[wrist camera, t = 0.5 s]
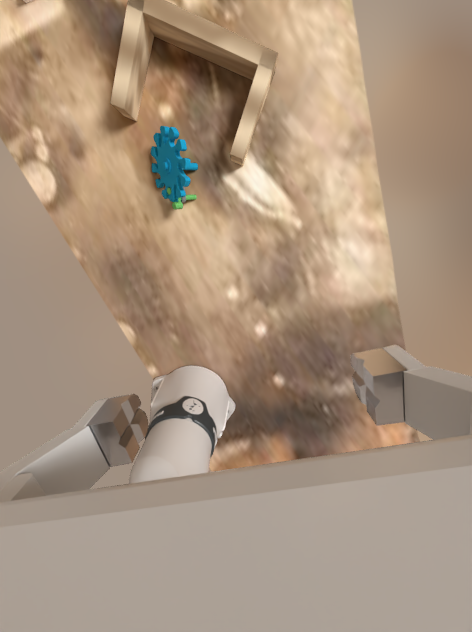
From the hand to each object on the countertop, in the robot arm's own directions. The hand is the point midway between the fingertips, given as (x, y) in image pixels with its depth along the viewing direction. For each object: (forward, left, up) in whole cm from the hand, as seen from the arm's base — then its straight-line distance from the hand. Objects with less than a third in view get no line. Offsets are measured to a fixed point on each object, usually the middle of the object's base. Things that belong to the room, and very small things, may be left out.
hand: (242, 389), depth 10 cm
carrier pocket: (+21, +16, -40) cm, 47 cm away
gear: (+9, +16, -40) cm, 44 cm away
